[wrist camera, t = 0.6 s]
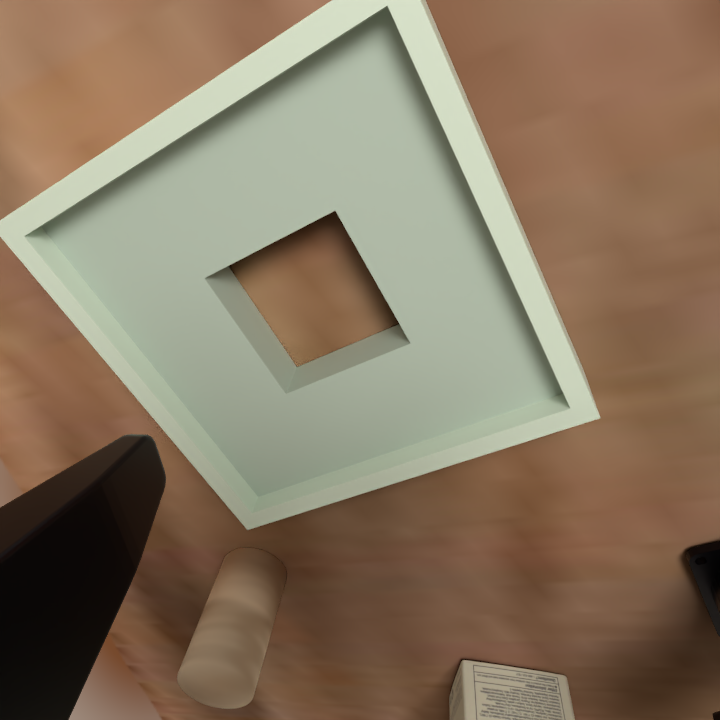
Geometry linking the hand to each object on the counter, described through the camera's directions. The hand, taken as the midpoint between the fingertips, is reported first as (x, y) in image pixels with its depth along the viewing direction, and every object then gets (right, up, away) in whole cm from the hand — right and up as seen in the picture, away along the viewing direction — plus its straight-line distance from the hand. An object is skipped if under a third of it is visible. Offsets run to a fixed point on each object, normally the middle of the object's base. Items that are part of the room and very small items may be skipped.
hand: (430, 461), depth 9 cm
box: (-3, +4, +14) cm, 15 cm away
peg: (-7, -10, +24) cm, 27 cm away
